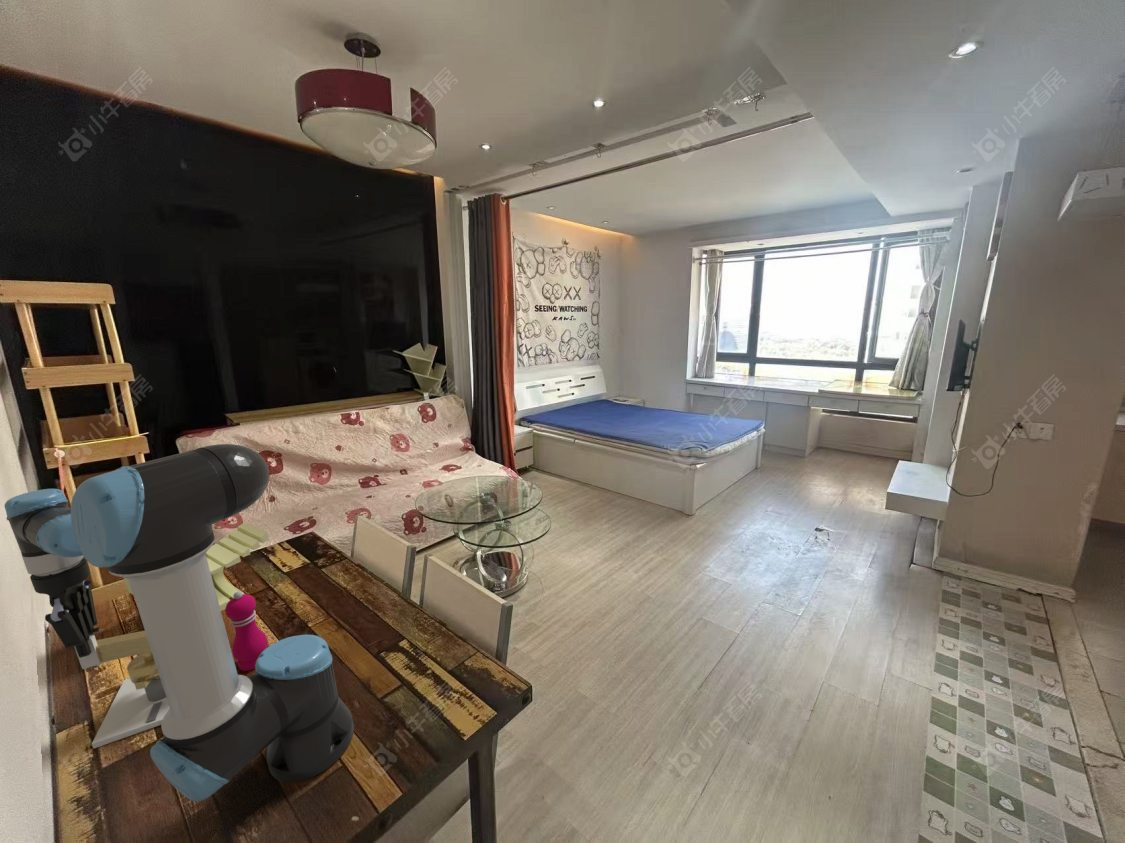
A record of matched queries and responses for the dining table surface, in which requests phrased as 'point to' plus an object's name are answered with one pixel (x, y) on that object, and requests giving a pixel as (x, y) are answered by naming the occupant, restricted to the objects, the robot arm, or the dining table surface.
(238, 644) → the pepper mill
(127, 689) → the base
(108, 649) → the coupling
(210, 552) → the slatted curved stool
